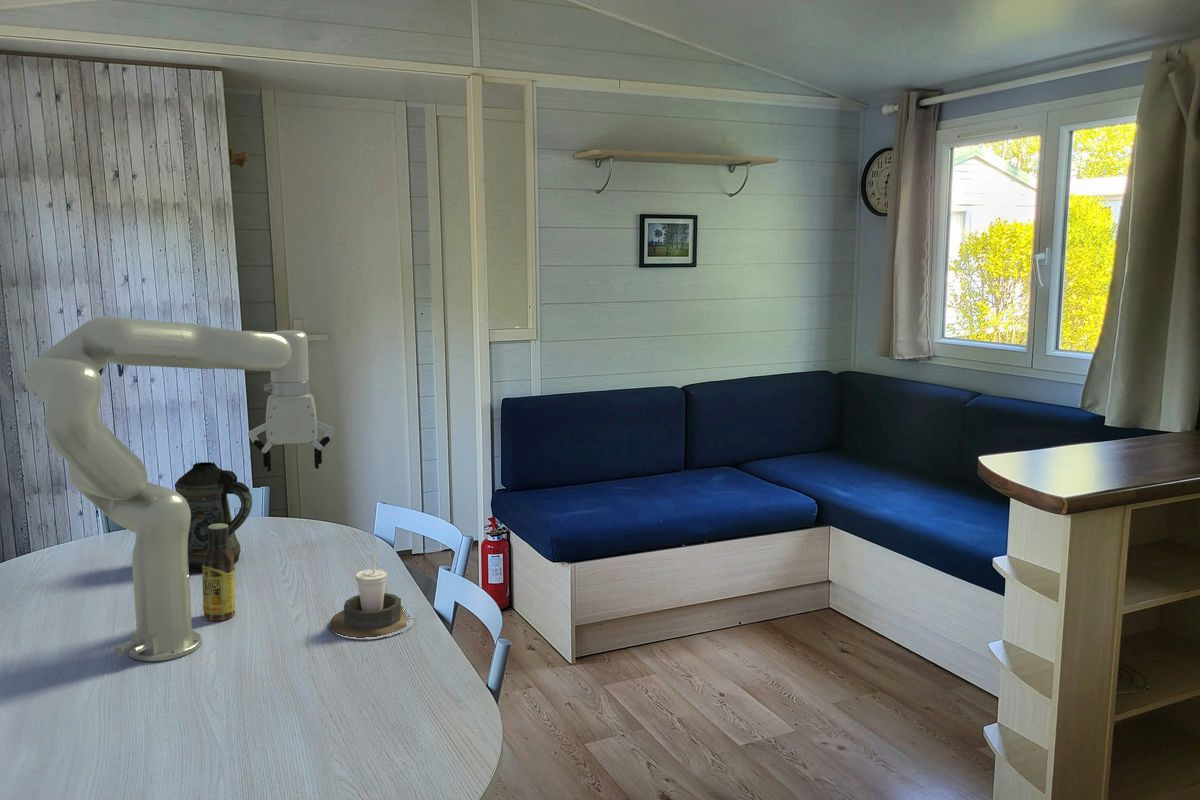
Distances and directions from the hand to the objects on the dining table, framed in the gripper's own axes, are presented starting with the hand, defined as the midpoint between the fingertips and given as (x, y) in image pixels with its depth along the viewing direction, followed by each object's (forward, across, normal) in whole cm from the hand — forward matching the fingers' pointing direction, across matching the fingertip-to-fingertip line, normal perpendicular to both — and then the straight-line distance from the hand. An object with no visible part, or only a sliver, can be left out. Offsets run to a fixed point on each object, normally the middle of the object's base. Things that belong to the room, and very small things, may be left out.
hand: (293, 468), depth 190 cm
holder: (+30, +14, -16) cm, 37 cm away
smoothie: (+30, +14, -16) cm, 36 cm away
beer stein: (+31, -19, +36) cm, 51 cm away
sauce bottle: (+31, -16, -2) cm, 34 cm away
